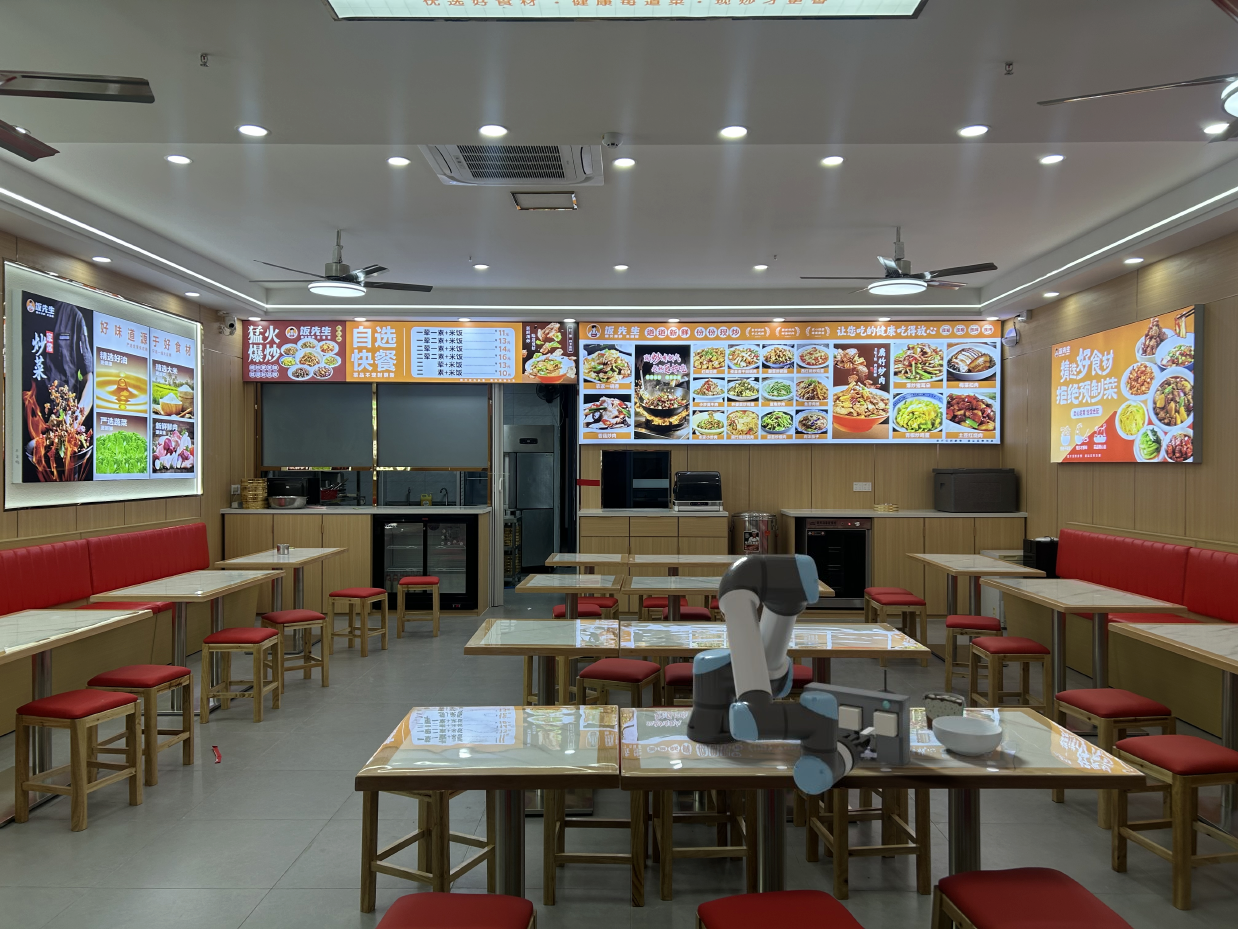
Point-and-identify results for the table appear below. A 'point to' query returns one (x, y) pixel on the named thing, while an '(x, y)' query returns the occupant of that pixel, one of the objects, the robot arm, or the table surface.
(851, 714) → the key middle
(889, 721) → the key right
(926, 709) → the mint chip dessert
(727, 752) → the table surface
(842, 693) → the keypad
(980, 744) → the cereal bowl
